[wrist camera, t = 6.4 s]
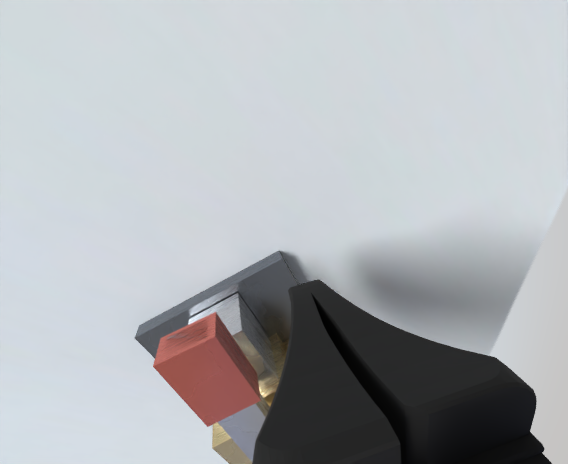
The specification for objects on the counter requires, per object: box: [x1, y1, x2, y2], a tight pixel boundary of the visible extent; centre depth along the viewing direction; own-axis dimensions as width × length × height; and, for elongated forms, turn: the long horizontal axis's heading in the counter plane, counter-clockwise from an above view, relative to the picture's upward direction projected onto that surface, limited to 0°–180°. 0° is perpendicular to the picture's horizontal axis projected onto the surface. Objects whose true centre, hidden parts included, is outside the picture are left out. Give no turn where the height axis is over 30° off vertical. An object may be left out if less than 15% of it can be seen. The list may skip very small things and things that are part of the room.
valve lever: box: [153, 312, 270, 461], centre depth 12 cm, size 11×2×2 cm, turn 23°
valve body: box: [135, 251, 298, 464], centre depth 17 cm, size 16×9×5 cm, turn 26°
